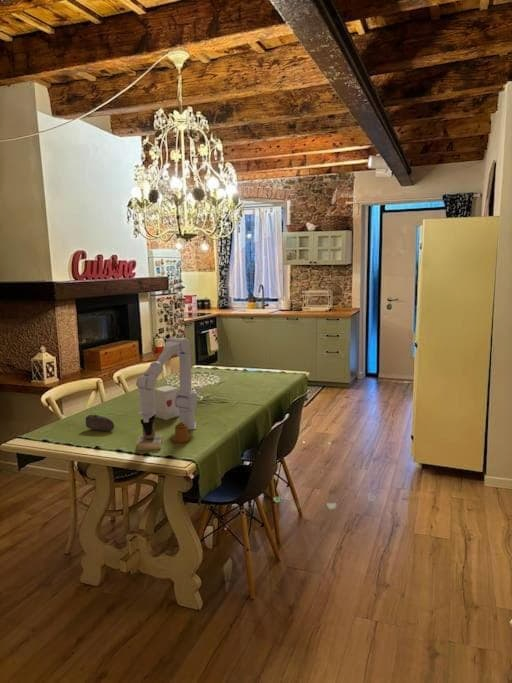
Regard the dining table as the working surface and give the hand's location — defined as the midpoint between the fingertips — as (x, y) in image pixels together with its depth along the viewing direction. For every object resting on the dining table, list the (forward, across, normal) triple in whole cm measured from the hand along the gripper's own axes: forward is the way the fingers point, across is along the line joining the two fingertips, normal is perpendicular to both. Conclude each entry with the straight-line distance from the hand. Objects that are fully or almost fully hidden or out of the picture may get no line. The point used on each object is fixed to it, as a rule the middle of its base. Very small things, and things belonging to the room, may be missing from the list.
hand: (149, 433), depth 211 cm
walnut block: (+2, 0, 0) cm, 2 cm away
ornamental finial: (+6, -4, +14) cm, 15 cm away
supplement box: (+6, -38, +4) cm, 39 cm away
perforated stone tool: (+6, -23, -26) cm, 35 cm away
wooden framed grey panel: (+6, 0, 0) cm, 6 cm away
